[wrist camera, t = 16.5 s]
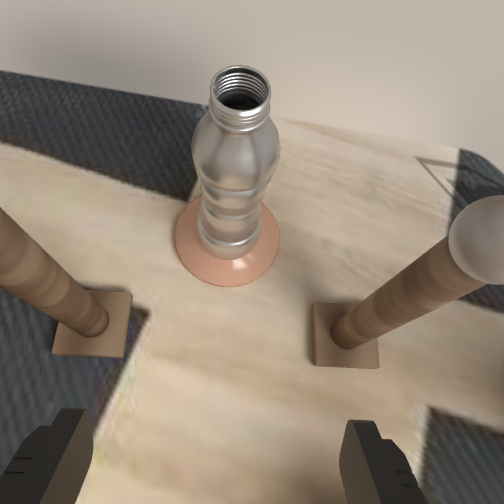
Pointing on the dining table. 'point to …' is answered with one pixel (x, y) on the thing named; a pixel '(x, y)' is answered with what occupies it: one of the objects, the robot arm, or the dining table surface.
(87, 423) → the robot arm
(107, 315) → the post gate
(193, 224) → the terracotta coaster
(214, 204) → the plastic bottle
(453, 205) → the dining table surface
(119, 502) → the dining table surface
